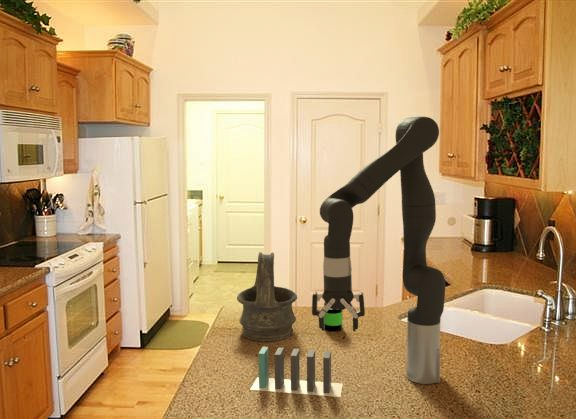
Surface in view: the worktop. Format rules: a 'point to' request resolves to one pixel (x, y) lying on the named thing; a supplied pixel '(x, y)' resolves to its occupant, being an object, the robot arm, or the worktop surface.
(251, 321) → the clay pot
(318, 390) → the strip
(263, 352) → the domino
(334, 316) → the bottle
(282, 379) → the domino
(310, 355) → the domino
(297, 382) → the domino
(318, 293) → the robot arm
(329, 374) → the domino
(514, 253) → the worktop surface
